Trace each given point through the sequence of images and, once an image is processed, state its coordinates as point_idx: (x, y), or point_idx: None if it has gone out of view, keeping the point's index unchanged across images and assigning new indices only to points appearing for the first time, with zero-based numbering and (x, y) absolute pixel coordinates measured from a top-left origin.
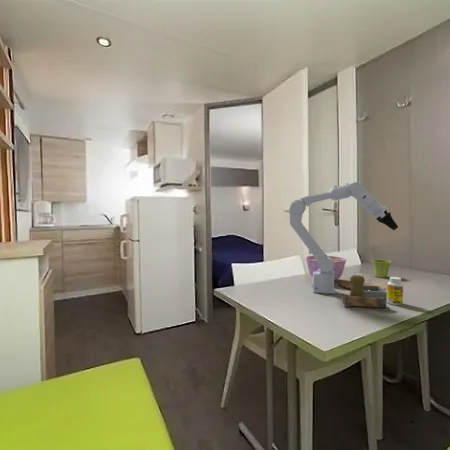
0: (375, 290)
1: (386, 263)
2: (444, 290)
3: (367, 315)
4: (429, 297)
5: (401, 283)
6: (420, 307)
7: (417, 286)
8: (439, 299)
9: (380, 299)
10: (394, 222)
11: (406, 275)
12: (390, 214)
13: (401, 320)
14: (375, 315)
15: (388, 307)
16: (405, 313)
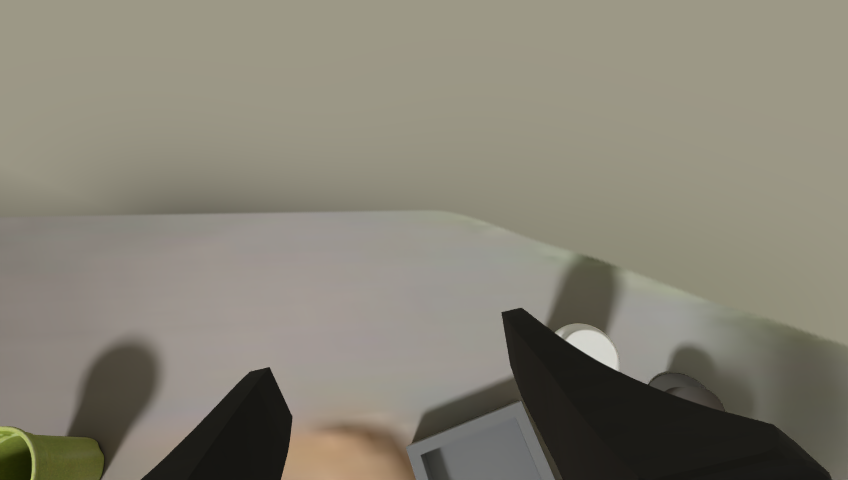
0: (426, 461)
1: (35, 451)
2: (257, 215)
3: (832, 448)
4: (391, 255)
5: (580, 329)
6: (557, 276)
7: (229, 301)
8: (402, 226)
9: (724, 411)
10: (570, 348)
11: (24, 354)
12: (765, 427)
13: (781, 323)
14: (803, 417)
15: (653, 380)
16: (678, 317)
